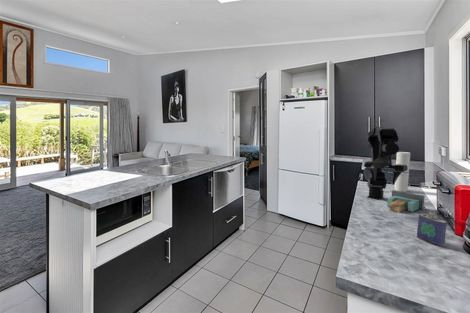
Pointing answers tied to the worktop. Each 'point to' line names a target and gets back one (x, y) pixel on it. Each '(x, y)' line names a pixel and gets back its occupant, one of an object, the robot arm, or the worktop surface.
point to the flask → (431, 229)
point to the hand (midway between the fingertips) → (383, 182)
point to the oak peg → (398, 206)
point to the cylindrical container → (403, 178)
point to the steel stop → (410, 197)
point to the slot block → (410, 204)
